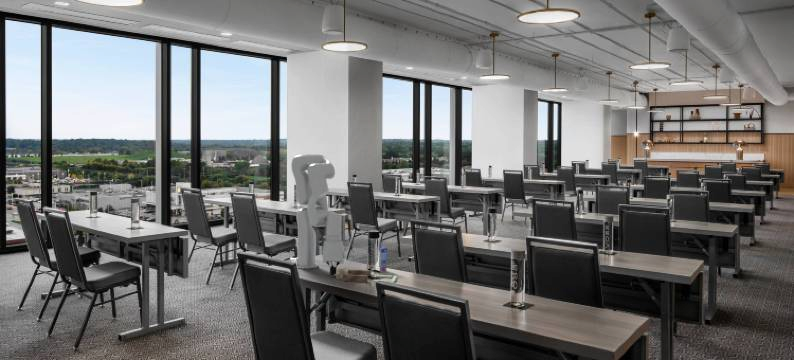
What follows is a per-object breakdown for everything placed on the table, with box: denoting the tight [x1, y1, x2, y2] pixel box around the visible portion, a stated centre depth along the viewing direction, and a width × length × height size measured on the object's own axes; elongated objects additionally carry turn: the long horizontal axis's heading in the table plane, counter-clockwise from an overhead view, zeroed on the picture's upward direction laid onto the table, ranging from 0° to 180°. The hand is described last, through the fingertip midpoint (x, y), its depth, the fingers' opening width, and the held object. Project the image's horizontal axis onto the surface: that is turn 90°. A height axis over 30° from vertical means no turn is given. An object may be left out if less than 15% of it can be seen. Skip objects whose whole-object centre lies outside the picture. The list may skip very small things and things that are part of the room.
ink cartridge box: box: [365, 242, 388, 272], centre depth 307 cm, size 10×6×14 cm, turn 54°
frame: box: [372, 274, 398, 284], centre depth 287 cm, size 10×12×1 cm
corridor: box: [342, 268, 372, 283], centre depth 288 cm, size 12×12×3 cm
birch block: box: [335, 268, 349, 280], centre depth 289 cm, size 5×5×4 cm
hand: (333, 274), depth 289 cm, fingers closed
